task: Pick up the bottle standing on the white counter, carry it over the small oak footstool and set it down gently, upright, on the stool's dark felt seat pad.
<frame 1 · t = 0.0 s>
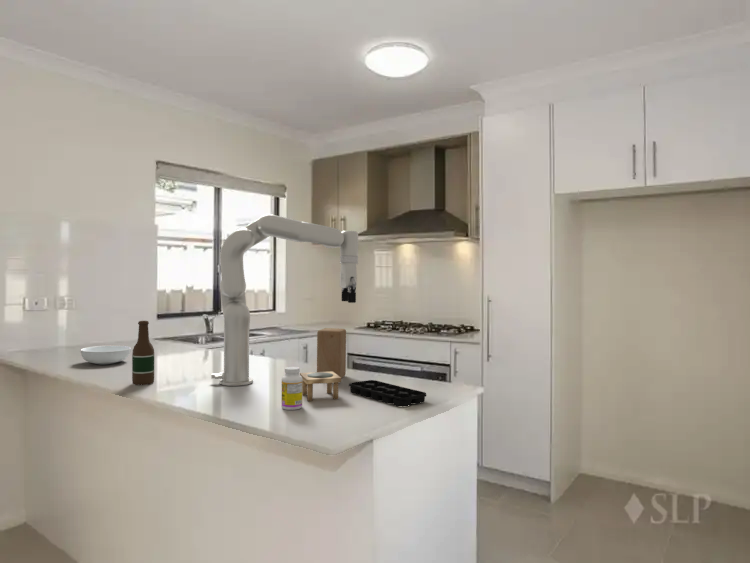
hand: (348, 301, 221), 31 cm above the worktop, tool pointing down, fingers open, 9 cm apart
egg carton: (386, 398, 187), on the worktop
beer bottle: (143, 383, 204), on the worktop
serving bowl: (106, 363, 247), on the worktop
supplement bottle: (291, 408, 171), on the worktop
footstool: (319, 396, 186), on the worktop
wooden block: (331, 378, 219), on the worktop
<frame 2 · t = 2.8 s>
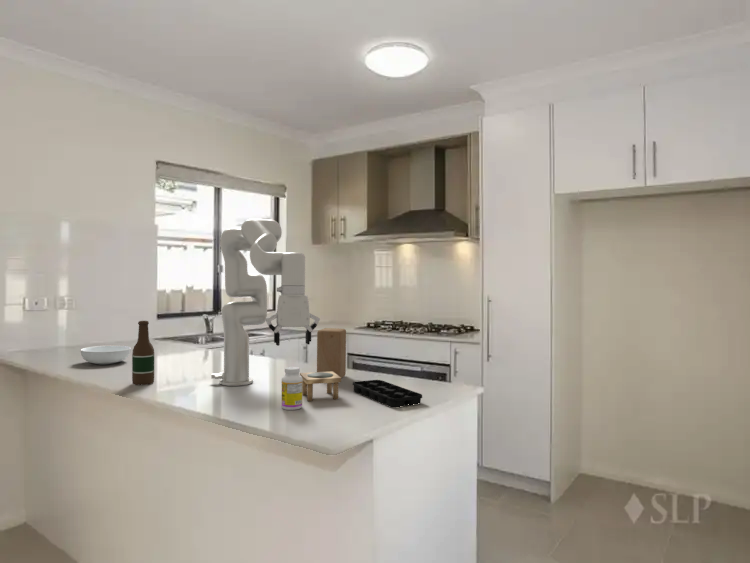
hand: (292, 344, 170), 20 cm above the worktop, tool pointing down, fingers open, 9 cm apart
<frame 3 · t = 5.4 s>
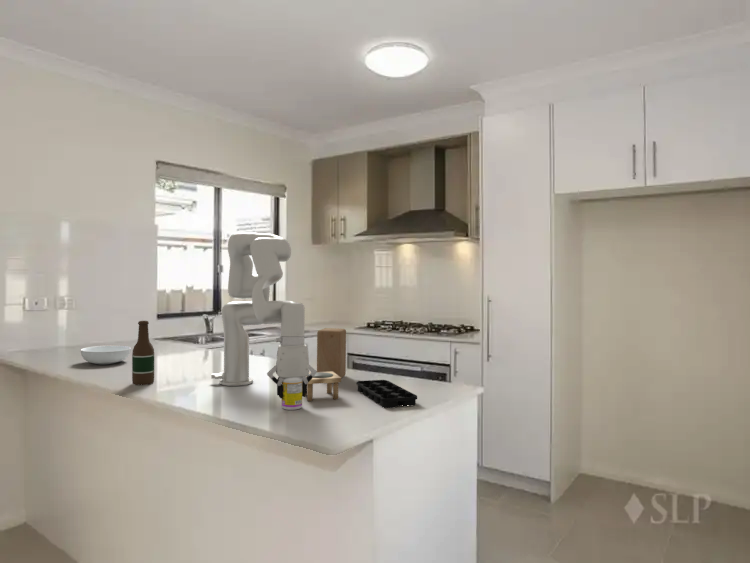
hand: (292, 396, 171), 4 cm above the worktop, tool pointing down, fingers closed on supplement bottle, 6 cm apart
supplement bottle: (291, 408, 171), on the worktop, touching gripper
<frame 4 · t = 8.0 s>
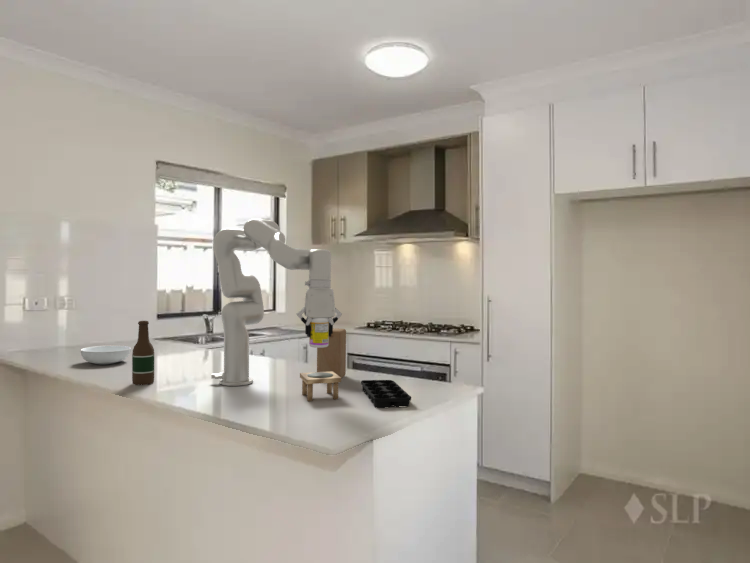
hand: (319, 335, 185), 21 cm above the worktop, tool pointing down, fingers closed on supplement bottle, 6 cm apart
supplement bottle: (318, 347, 185), point 17 cm above the worktop, touching gripper
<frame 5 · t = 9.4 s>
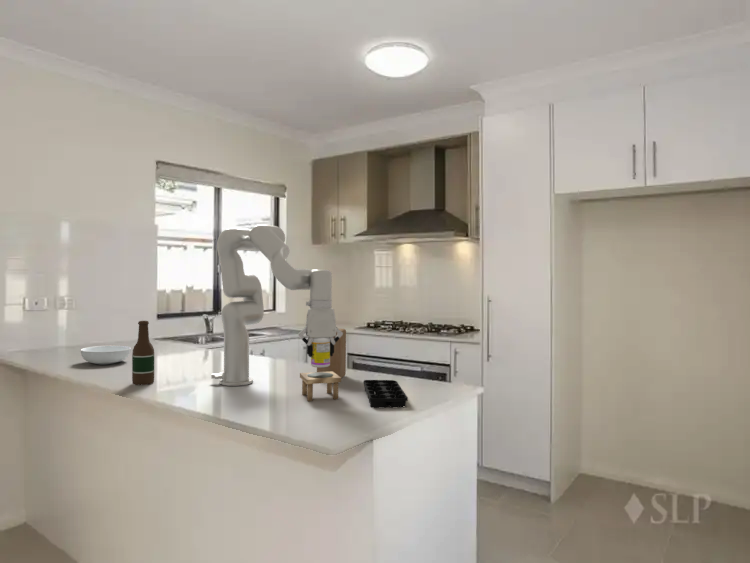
hand: (320, 355, 186), 14 cm above the worktop, tool pointing down, fingers closed on supplement bottle, 6 cm apart
supplement bottle: (320, 366, 186), point 11 cm above the worktop, touching gripper
when the fingers open (12 cm above the worktop, at t = 10.7 s): supplement bottle drops 1 cm, resting on footstool.
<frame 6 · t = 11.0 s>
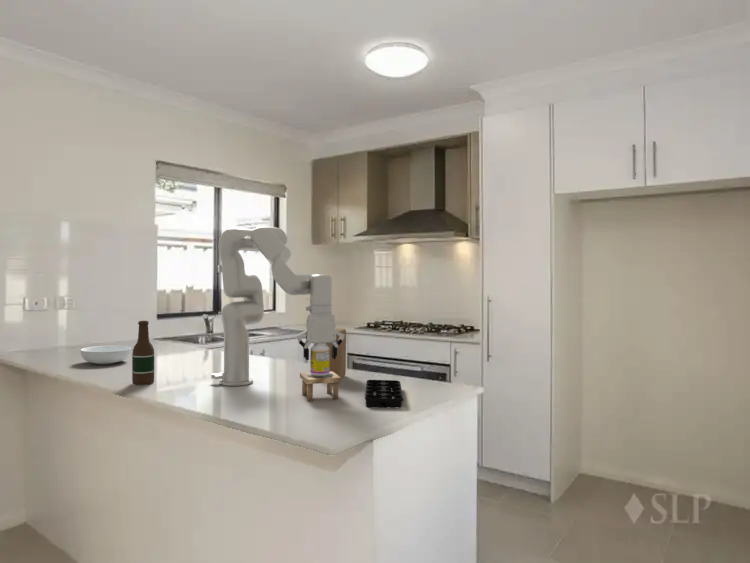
hand: (320, 358, 186), 13 cm above the worktop, tool pointing down, fingers open, 9 cm apart
supplement bottle: (319, 375, 186), point 8 cm above the worktop, touching footstool
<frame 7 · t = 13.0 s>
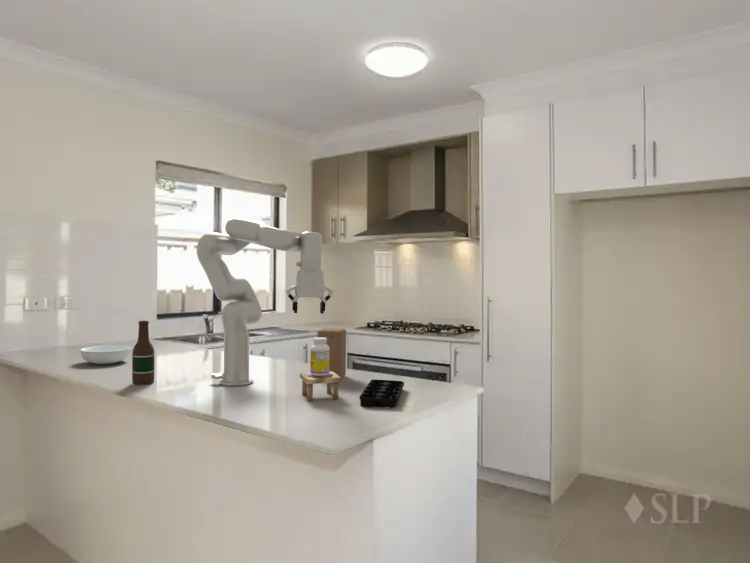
hand: (308, 313, 194), 29 cm above the worktop, tool pointing down, fingers open, 9 cm apart
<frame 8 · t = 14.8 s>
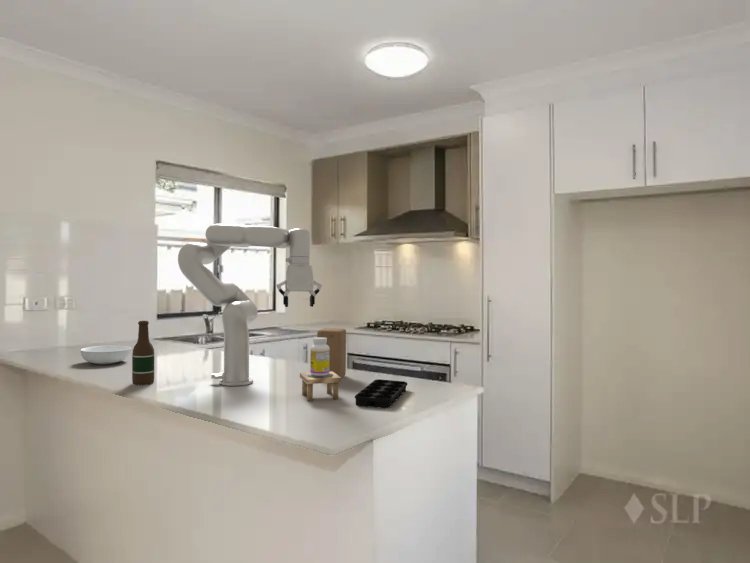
hand: (299, 306, 202), 30 cm above the worktop, tool pointing down, fingers open, 9 cm apart
at the end: supplement bottle inside the target area on the footstool (0.1 cm from its centre), point 7.5 cm above the footstool's base; supplement bottle tilted 0°; the gripper is holding nothing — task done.
